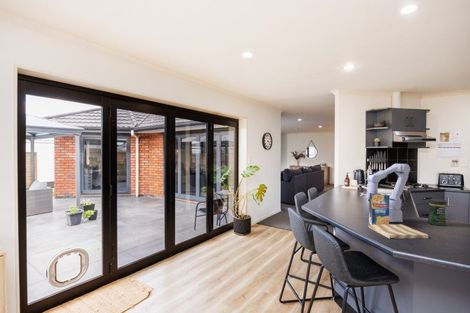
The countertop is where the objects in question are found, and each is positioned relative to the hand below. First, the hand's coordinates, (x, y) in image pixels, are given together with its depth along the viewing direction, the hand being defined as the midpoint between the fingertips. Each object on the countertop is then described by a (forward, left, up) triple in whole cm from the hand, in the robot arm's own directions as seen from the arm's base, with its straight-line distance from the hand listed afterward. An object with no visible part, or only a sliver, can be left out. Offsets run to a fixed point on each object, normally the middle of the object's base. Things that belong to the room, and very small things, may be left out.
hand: (372, 209), depth 180 cm
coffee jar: (-43, +8, -10) cm, 45 cm away
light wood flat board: (0, +25, -9) cm, 27 cm away
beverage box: (0, +8, -10) cm, 12 cm away
